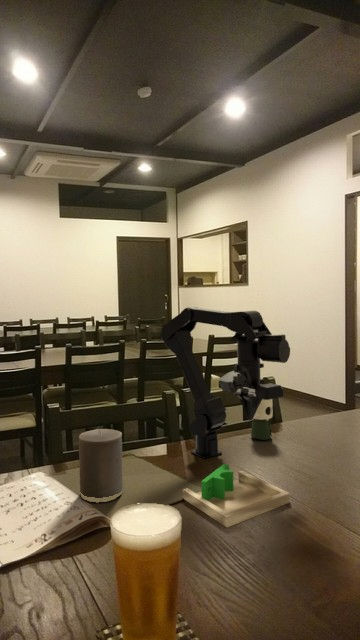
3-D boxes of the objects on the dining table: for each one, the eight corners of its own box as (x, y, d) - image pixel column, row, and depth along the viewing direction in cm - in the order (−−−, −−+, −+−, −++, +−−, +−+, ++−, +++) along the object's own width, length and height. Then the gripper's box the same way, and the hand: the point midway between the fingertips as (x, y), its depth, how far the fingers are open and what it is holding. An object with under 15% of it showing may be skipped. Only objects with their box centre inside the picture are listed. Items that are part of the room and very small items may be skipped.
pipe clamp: (217, 505, 93) (216, 484, 93) (201, 501, 95) (201, 481, 95) (239, 485, 103) (238, 465, 103) (224, 482, 105) (224, 463, 104)
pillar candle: (86, 507, 94) (85, 438, 94) (75, 490, 103) (73, 426, 102) (129, 497, 99) (128, 431, 98) (115, 481, 108) (113, 420, 107)
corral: (182, 498, 97) (182, 489, 97) (242, 478, 107) (242, 470, 107) (226, 527, 85) (226, 517, 85) (289, 502, 94) (289, 493, 94)
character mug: (267, 445, 130) (266, 401, 129) (244, 442, 133) (243, 399, 132) (277, 434, 139) (276, 393, 138) (255, 431, 142) (254, 392, 142)
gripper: (201, 359, 117) (203, 417, 118) (250, 367, 101) (251, 434, 102) (234, 355, 123) (235, 410, 124) (284, 362, 107) (285, 425, 108)
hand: (250, 419), depth 114 cm, fingers closed
